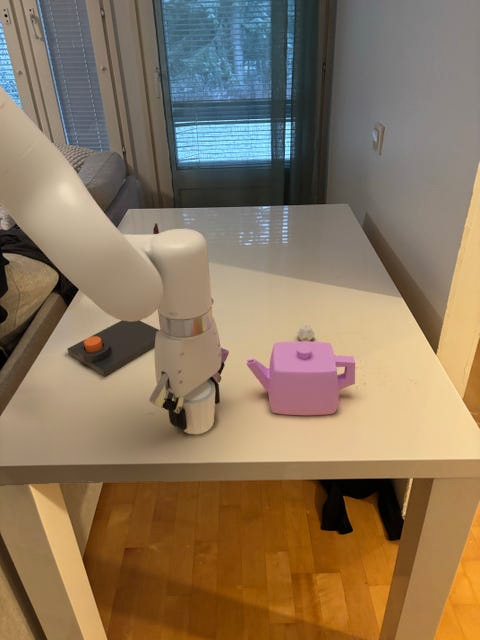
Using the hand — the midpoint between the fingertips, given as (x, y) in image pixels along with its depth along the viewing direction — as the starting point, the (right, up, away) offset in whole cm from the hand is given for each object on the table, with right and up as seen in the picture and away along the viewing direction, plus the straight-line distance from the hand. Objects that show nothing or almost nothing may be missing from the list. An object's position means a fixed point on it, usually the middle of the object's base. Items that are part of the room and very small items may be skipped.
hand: (195, 411), depth 75 cm
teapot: (+17, +1, +6) cm, 18 cm away
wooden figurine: (-14, +26, +49) cm, 57 cm away
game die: (+21, +11, +21) cm, 31 cm away
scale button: (-21, +9, +16) cm, 28 cm away
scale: (-18, +9, +21) cm, 29 cm away
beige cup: (0, -2, +1) cm, 2 cm away
